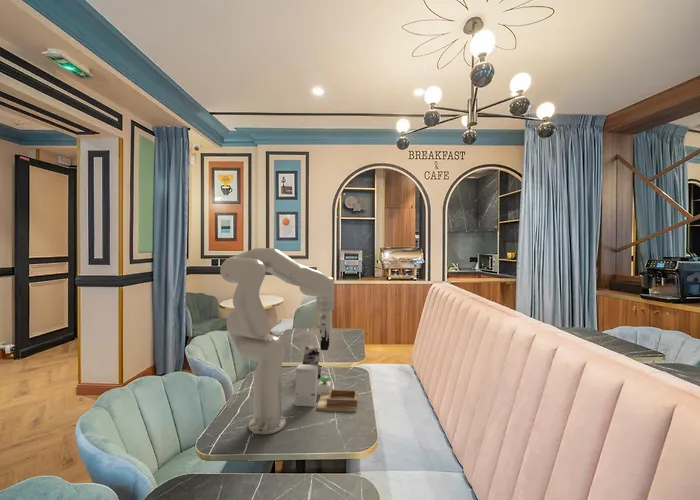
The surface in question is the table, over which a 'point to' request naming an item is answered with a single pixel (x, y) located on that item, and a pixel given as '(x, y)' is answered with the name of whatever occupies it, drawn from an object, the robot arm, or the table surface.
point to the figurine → (311, 357)
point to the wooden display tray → (338, 400)
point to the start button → (324, 379)
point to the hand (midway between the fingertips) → (324, 348)
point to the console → (324, 387)
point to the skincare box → (306, 385)
